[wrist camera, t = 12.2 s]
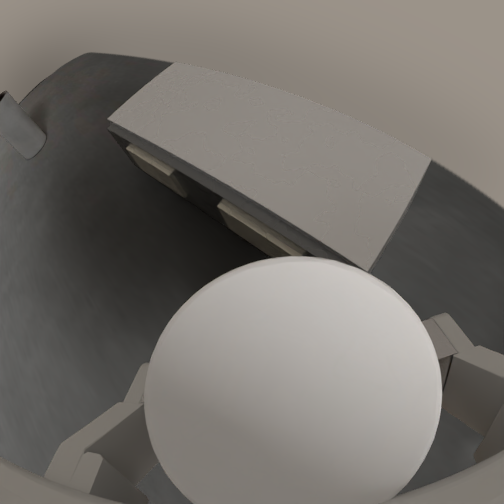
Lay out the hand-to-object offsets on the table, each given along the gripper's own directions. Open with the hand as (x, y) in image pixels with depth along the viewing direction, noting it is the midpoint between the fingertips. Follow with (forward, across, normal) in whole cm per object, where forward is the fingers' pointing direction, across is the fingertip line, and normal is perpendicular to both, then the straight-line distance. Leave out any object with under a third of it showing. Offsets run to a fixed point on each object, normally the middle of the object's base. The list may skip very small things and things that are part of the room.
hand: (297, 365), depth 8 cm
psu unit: (+17, +1, -3) cm, 18 cm away
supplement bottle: (+3, 0, +4) cm, 5 cm away
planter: (+29, +31, -14) cm, 45 cm away
